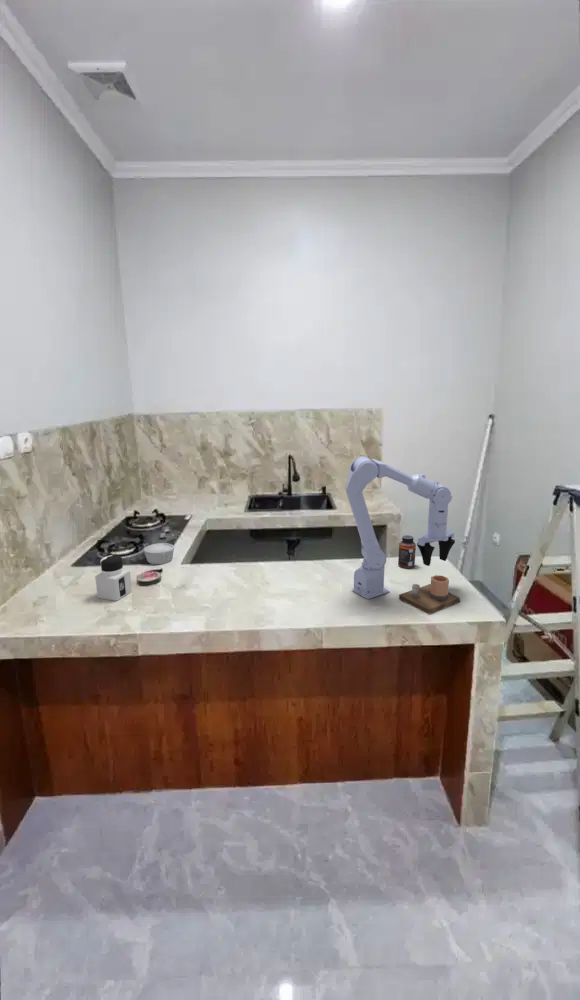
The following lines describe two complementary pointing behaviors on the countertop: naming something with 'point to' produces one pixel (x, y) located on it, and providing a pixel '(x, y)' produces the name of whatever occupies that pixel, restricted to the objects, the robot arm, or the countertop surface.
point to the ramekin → (159, 553)
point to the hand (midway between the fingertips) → (434, 562)
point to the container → (113, 579)
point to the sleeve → (439, 587)
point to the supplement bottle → (407, 552)
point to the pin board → (426, 599)
